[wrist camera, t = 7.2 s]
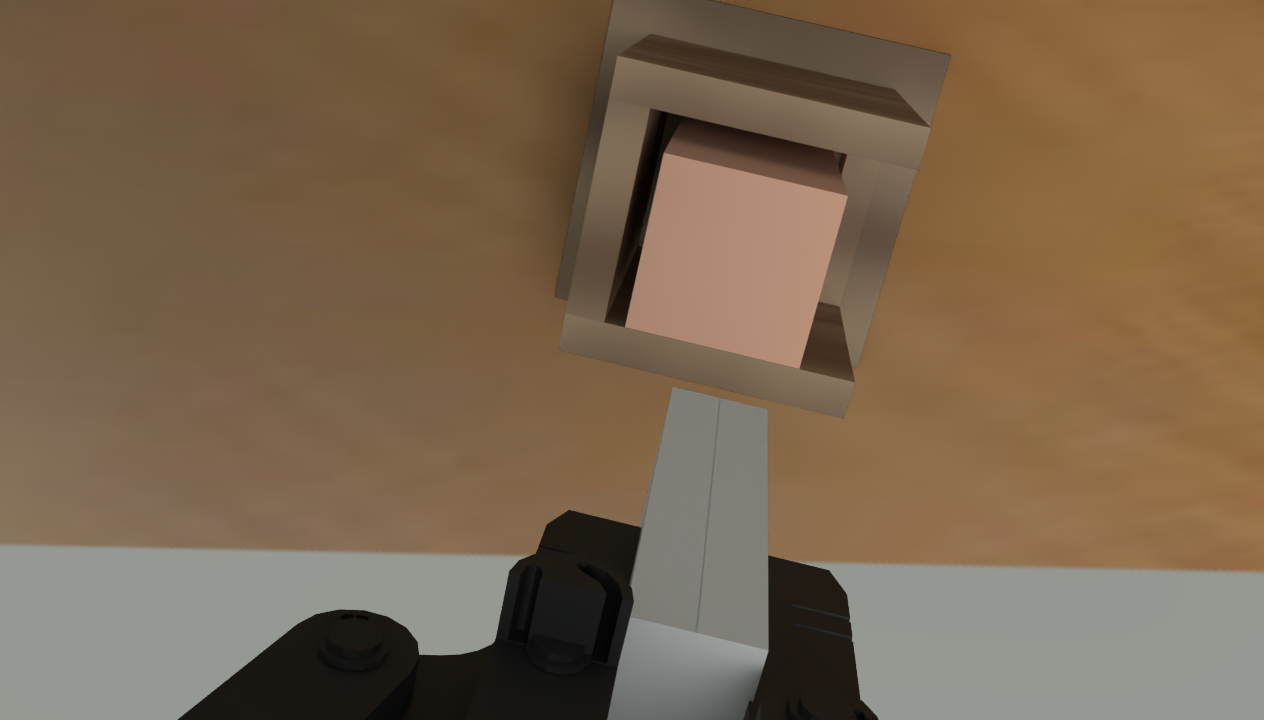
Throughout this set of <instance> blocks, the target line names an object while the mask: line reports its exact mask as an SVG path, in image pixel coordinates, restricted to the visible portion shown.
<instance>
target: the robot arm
mask: <svg viewBox="0 0 1264 720" xmlns="http://www.w3.org/2000/svg"><path fill="white" fill-rule="evenodd" d="M849 620H850V614H849V607H848V599H847V594H846V592H845V591H844V590H843V588H842V587H841V586H840V585H839V583H838V582H837V580H836V579H835V578H834V576H833V575H832V574H831V572H830V571H829V570H825V569H821V568H818V567H813V566H809V565H805V564H801V563H797V562H793V561H789V560H785V559H780V558H776V557H772V556H768V432H767V409H763V408H759V407H755V406H751V405H747V404H743V403H738V402H734V401H730V400H726V399H722V398H717V397H713V396H709V395H705V394H701V393H697V392H692V391H688V390H684V389H680V388H676V387H673V388H672V392H671V397H670V401H669V405H668V409H667V413H666V417H665V421H664V425H663V430H662V434H661V438H660V442H659V446H658V450H657V454H656V458H655V463H654V467H653V471H652V475H651V479H650V483H649V487H648V491H647V496H646V500H645V504H644V508H643V512H642V516H641V520H640V524H639V527H637V526H633V525H629V524H624V523H620V522H616V521H612V520H608V519H604V518H600V517H596V516H592V515H587V514H583V513H579V512H575V511H571V510H568V511H567V512H565V513H564V514H562V515H561V516H559V517H558V518H556V519H554V520H553V521H551V522H550V523H548V524H547V526H546V528H545V531H544V533H543V536H542V539H541V541H540V544H539V548H538V549H537V552H536V554H534V555H531V556H529V557H526V558H524V559H521V560H519V561H518V562H517V563H516V564H515V566H514V567H513V568H512V569H511V570H510V571H509V576H508V581H507V586H506V591H505V596H504V601H503V606H502V611H501V615H500V621H499V626H498V631H497V636H496V639H495V642H494V643H493V644H492V645H490V646H487V647H485V648H483V649H481V650H478V651H474V652H470V653H466V654H461V655H443V656H442V655H440V656H439V655H419V651H418V642H417V641H416V640H415V638H414V637H413V636H412V634H411V633H410V632H409V630H408V629H407V628H406V627H404V626H403V625H401V624H399V623H397V622H396V621H394V620H392V619H391V618H389V617H387V616H383V615H379V614H376V613H372V612H368V611H364V610H335V611H330V612H325V613H320V614H316V615H314V616H312V617H310V618H308V619H306V620H304V621H302V622H301V623H298V624H297V625H296V626H294V627H293V628H292V629H291V630H289V631H288V632H287V633H286V634H284V635H283V636H282V637H281V638H279V639H278V640H277V641H276V642H274V643H273V644H272V645H271V646H269V647H268V648H267V649H266V650H264V651H263V652H262V653H261V654H259V655H258V656H257V657H256V658H255V659H253V660H252V661H251V662H249V663H248V664H247V665H246V666H244V667H243V668H242V669H241V670H239V671H238V672H237V673H235V674H234V675H233V676H232V677H231V678H229V679H228V680H227V681H225V682H224V683H223V684H222V685H220V686H219V687H218V688H217V689H216V690H214V691H213V692H212V693H210V694H209V695H208V696H207V697H205V699H203V700H202V701H200V702H199V703H198V704H197V705H195V706H194V707H193V708H192V709H191V710H189V711H188V712H187V713H185V714H184V715H183V716H182V717H180V718H179V719H178V720H878V718H877V716H876V715H875V714H874V713H873V712H872V711H871V710H870V709H869V708H868V706H867V705H866V704H865V703H864V702H863V701H861V700H860V694H859V687H858V686H859V685H858V677H857V670H856V661H855V654H854V646H853V642H852V630H851V623H850V622H849Z"/></svg>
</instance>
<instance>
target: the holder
mask: <svg viewBox="0 0 1264 720" xmlns="http://www.w3.org/2000/svg"><path fill="white" fill-rule="evenodd" d="M950 58H951V55H948V54H944V53H939V52H935V51H931V50H926V49H922V48H917V47H913V46H909V45H904V44H900V43H896V42H891V41H887V40H883V39H878V38H874V37H869V36H865V35H861V34H856V33H852V32H848V31H843V30H839V29H834V28H830V27H826V26H821V25H817V24H813V23H808V22H804V21H800V20H795V19H791V18H786V17H782V16H778V15H773V14H769V13H765V12H760V11H756V10H751V9H747V8H743V7H738V6H734V5H730V4H725V3H721V2H717V1H712V0H614V1H613V6H612V11H611V16H610V21H609V26H608V31H607V36H606V41H605V46H604V51H603V56H602V61H601V66H600V71H599V76H598V81H597V86H596V91H595V97H594V102H593V107H592V112H591V117H590V122H589V127H588V132H587V137H586V142H585V147H584V152H583V157H582V162H581V167H580V172H579V177H578V182H577V187H576V192H575V197H574V202H573V208H572V213H571V218H570V223H569V228H568V233H567V238H566V243H565V248H564V253H563V258H562V263H561V268H560V273H559V278H558V283H557V288H556V293H555V297H557V298H561V299H566V300H568V303H567V307H566V312H565V317H564V322H563V327H562V332H561V337H560V342H559V347H558V350H560V351H564V352H569V353H573V354H577V355H581V356H585V357H589V358H594V359H598V360H602V361H606V362H610V363H614V364H619V365H623V366H627V367H631V368H635V369H639V370H644V371H648V372H652V373H656V374H660V375H664V376H669V377H673V378H677V379H681V380H685V381H689V382H694V383H698V384H702V385H706V386H710V387H714V388H718V389H723V390H727V391H731V392H735V393H739V394H743V395H748V396H752V397H756V398H760V399H764V400H768V401H773V402H777V403H781V404H785V405H789V406H793V407H798V408H802V409H806V410H810V411H814V412H818V413H823V414H827V415H831V416H835V417H839V418H843V419H844V417H845V414H846V410H847V407H848V404H849V400H850V397H851V394H852V390H853V387H854V384H855V381H854V376H853V371H852V368H855V369H857V367H858V364H859V361H860V357H861V354H862V351H863V347H864V344H865V341H866V337H867V334H868V331H869V327H870V324H871V321H872V317H873V314H874V311H875V307H876V304H877V301H878V297H879V294H880V291H881V287H882V284H883V281H884V277H885V274H886V271H887V267H888V264H889V261H890V258H891V254H892V251H893V248H894V244H895V241H896V238H897V234H898V231H899V228H900V224H901V221H902V218H903V214H904V211H905V208H906V204H907V201H908V198H909V194H910V191H911V188H912V184H913V181H914V178H915V174H916V171H917V170H918V171H919V168H920V165H921V161H922V158H923V155H924V151H925V148H926V145H927V141H928V138H929V135H930V131H931V127H930V124H931V121H932V118H933V115H934V111H935V108H936V105H937V101H938V98H939V95H940V91H941V88H942V85H943V81H944V78H945V75H946V71H947V68H948V65H949V61H950ZM683 116H686V117H690V118H695V119H699V120H703V121H707V122H712V123H716V124H720V125H725V126H729V127H733V128H738V129H742V130H746V131H750V132H755V133H759V134H763V135H768V136H772V137H776V138H781V139H785V140H789V141H793V142H798V143H802V144H806V145H811V146H815V147H819V148H824V149H828V150H832V151H833V152H834V155H835V158H836V161H837V164H838V167H839V170H840V173H841V176H842V179H843V182H844V185H845V188H846V191H847V194H848V198H847V201H846V205H845V209H844V212H843V216H842V219H841V223H840V226H839V230H838V233H837V237H836V240H835V244H834V248H833V251H832V255H831V258H830V262H829V265H828V269H827V272H826V276H825V279H824V283H823V287H822V290H821V294H820V297H819V301H818V304H817V308H816V311H815V315H814V318H813V322H812V326H811V329H810V333H809V336H808V340H807V343H806V347H805V350H804V354H803V358H802V361H801V365H800V368H799V369H798V368H793V367H789V366H785V365H781V364H777V363H773V362H768V361H764V360H760V359H756V358H752V357H747V356H743V355H739V354H735V353H731V352H727V351H722V350H718V349H714V348H710V347H706V346H701V345H697V344H693V343H689V342H685V341H681V340H676V339H672V338H668V337H664V336H660V335H655V334H651V333H647V332H643V331H639V330H635V329H630V328H626V327H625V325H626V320H627V316H628V311H629V307H630V302H631V298H632V293H633V289H634V284H635V280H636V275H637V271H638V266H639V262H640V257H641V253H642V248H643V244H644V239H645V235H646V230H647V226H648V222H649V217H650V213H651V208H652V204H653V199H654V195H655V190H656V186H657V181H658V177H659V172H660V168H661V163H662V159H663V154H664V151H665V150H666V148H667V146H668V144H669V142H670V140H671V138H672V136H673V135H674V133H675V131H676V129H677V127H678V125H679V123H680V121H681V120H682V118H683Z"/></svg>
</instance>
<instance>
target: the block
mask: <svg viewBox="0 0 1264 720" xmlns="http://www.w3.org/2000/svg"><path fill="white" fill-rule="evenodd" d="M847 198H848V194H847V191H846V188H845V185H844V182H843V179H842V176H841V173H840V170H839V167H838V164H837V161H836V158H835V155H834V152H833V151H832V150H828V149H824V148H819V147H815V146H811V145H806V144H802V143H798V142H793V141H789V140H785V139H781V138H776V137H772V136H768V135H763V134H759V133H755V132H750V131H746V130H742V129H738V128H733V127H729V126H725V125H720V124H716V123H712V122H707V121H703V120H699V119H695V118H690V117H686V116H683V118H682V120H681V121H680V123H679V125H678V127H677V129H676V131H675V133H674V135H673V136H672V138H671V140H670V142H669V144H668V146H667V148H666V150H665V151H664V154H663V159H662V163H661V168H660V172H659V177H658V181H657V186H656V190H655V195H654V199H653V204H652V208H651V213H650V217H649V222H648V226H647V230H646V235H645V239H644V244H643V248H642V253H641V257H640V262H639V266H638V271H637V275H636V280H635V284H634V289H633V293H632V298H631V302H630V307H629V311H628V316H627V320H626V325H625V327H626V328H630V329H635V330H639V331H643V332H647V333H651V334H655V335H660V336H664V337H668V338H672V339H676V340H681V341H685V342H689V343H693V344H697V345H701V346H706V347H710V348H714V349H718V350H722V351H727V352H731V353H735V354H739V355H743V356H747V357H752V358H756V359H760V360H764V361H768V362H773V363H777V364H781V365H785V366H789V367H793V368H798V369H799V368H800V365H801V361H802V358H803V354H804V350H805V347H806V343H807V340H808V336H809V333H810V329H811V326H812V322H813V318H814V315H815V311H816V308H817V304H818V301H819V297H820V294H821V290H822V287H823V283H824V279H825V276H826V272H827V269H828V265H829V262H830V258H831V255H832V251H833V248H834V244H835V240H836V237H837V233H838V230H839V226H840V223H841V219H842V216H843V212H844V209H845V205H846V201H847Z"/></svg>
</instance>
